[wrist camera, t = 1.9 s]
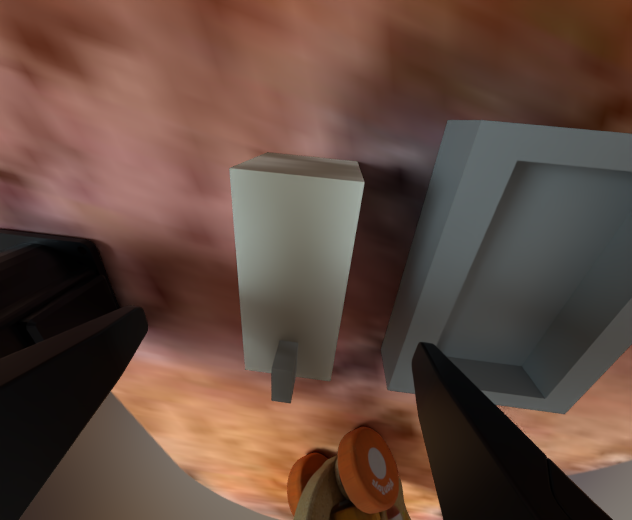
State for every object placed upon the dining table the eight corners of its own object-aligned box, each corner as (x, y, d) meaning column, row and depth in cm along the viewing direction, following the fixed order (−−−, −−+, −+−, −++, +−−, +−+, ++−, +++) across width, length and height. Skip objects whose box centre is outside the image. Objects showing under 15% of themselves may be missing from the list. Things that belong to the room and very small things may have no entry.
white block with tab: (269, 307, 16) (233, 398, 11) (268, 151, 11) (207, 176, 6) (333, 315, 16) (328, 411, 11) (357, 160, 11) (368, 194, 6)
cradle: (380, 350, 16) (387, 390, 14) (447, 120, 10) (481, 120, 8) (530, 369, 16) (564, 414, 14) (697, 143, 10) (817, 150, 7)
